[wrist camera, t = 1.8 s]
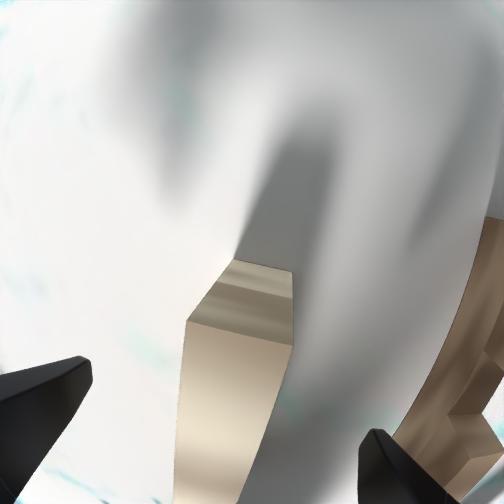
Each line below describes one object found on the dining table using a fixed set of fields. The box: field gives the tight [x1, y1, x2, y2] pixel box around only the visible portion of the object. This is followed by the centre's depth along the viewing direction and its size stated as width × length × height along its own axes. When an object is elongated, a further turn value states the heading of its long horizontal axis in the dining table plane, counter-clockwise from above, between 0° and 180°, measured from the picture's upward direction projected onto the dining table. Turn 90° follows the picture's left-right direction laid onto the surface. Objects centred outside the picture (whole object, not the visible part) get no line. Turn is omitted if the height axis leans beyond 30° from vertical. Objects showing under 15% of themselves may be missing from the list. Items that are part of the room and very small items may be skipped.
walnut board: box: [392, 217, 504, 501], centre depth 9 cm, size 14×2×6 cm, turn 169°
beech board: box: [173, 259, 293, 504], centre depth 11 cm, size 14×2×6 cm, turn 169°
